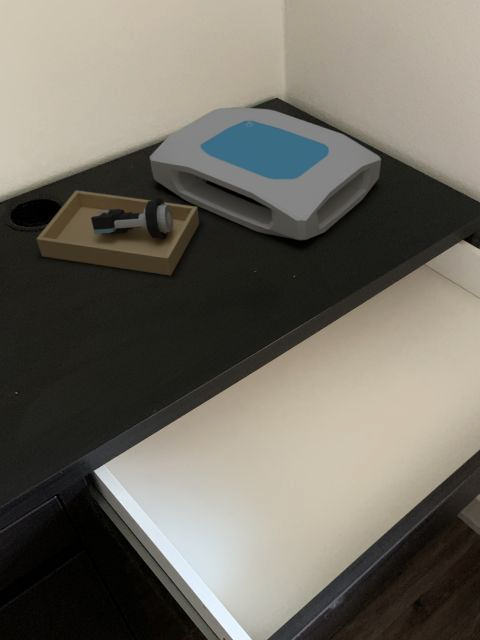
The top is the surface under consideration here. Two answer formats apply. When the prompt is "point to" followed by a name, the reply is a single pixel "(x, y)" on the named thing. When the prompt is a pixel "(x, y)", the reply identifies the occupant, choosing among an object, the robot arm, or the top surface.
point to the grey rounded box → (267, 170)
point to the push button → (136, 220)
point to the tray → (116, 235)
